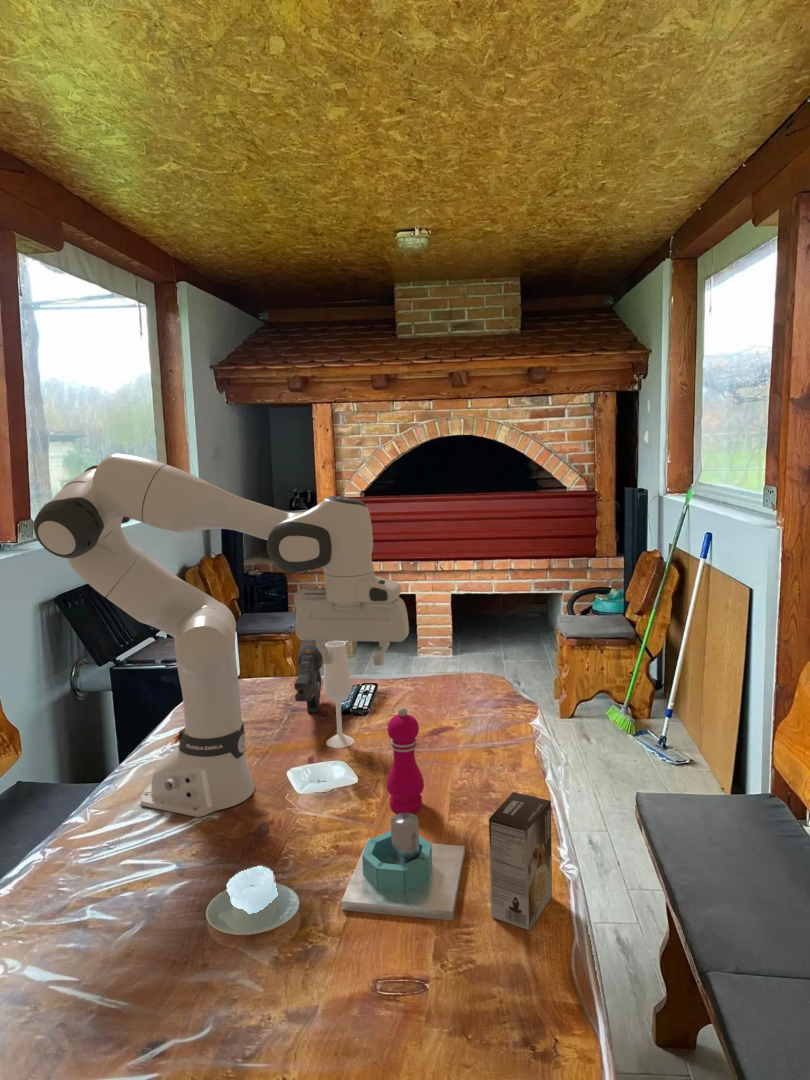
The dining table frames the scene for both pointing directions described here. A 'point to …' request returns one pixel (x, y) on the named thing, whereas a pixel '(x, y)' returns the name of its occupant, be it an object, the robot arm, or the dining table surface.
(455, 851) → the post stand
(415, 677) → the dining table surface
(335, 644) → the champagne flute
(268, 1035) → the dining table surface
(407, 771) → the pepper mill
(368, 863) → the ring
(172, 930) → the dining table surface
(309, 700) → the gun
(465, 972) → the dining table surface
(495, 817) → the coffee box
